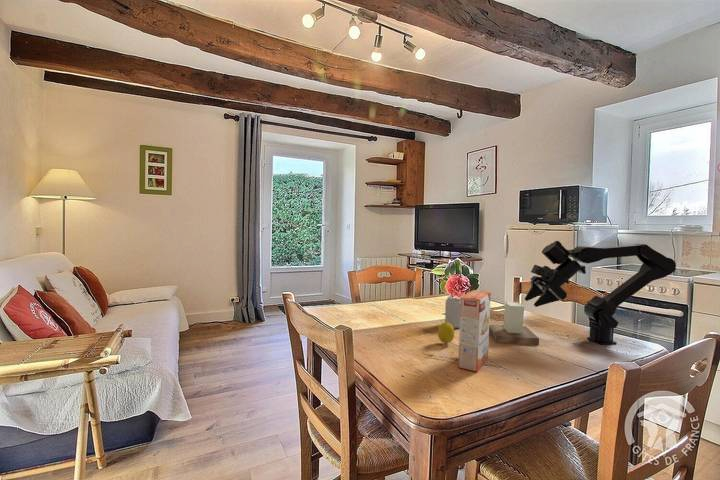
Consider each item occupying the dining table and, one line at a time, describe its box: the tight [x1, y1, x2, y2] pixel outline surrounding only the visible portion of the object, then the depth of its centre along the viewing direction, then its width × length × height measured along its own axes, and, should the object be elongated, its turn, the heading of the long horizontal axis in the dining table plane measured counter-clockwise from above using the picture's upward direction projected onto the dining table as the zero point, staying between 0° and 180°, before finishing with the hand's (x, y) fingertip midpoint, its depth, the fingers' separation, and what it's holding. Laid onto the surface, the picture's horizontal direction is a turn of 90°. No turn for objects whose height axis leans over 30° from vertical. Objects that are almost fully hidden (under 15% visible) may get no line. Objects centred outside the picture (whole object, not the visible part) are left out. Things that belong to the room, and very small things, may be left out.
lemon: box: [437, 321, 455, 345], centre depth 121 cm, size 6×6×8 cm
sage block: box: [503, 301, 525, 333], centre depth 128 cm, size 5×5×10 cm
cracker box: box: [457, 289, 492, 373], centre depth 105 cm, size 14×6×21 cm, turn 148°
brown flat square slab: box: [489, 324, 540, 346], centre depth 129 cm, size 14×14×3 cm
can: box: [444, 295, 461, 329], centre depth 142 cm, size 8×8×12 cm
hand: (529, 302), depth 128 cm, fingers open, 9 cm apart
